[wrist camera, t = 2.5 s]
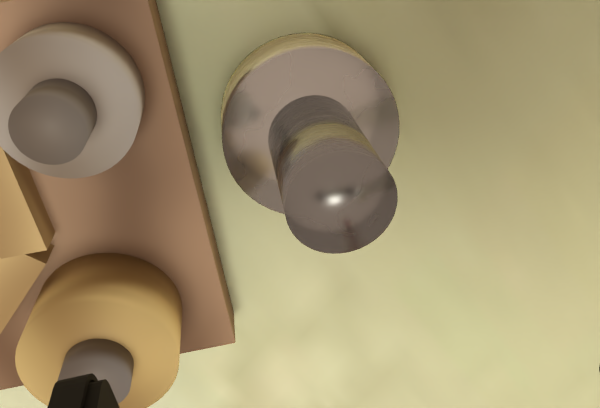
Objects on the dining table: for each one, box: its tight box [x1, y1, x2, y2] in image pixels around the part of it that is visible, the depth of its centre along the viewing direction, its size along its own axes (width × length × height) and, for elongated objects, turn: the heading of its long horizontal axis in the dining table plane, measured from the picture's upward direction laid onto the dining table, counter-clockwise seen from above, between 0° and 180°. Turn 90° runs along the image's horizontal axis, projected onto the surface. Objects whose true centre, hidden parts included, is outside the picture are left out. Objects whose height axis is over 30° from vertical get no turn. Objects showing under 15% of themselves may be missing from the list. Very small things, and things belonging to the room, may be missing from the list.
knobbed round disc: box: [221, 33, 399, 253], centre depth 19 cm, size 6×6×7 cm
